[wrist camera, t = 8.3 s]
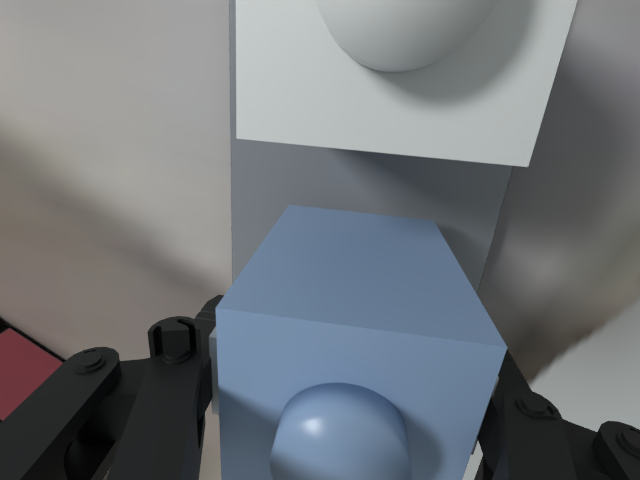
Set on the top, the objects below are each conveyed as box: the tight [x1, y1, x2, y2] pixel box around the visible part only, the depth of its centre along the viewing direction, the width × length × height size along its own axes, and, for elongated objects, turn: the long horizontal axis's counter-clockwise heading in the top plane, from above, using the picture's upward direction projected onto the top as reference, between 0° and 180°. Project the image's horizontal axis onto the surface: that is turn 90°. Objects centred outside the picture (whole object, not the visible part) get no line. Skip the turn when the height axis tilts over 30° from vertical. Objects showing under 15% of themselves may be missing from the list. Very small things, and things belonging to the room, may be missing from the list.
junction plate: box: [229, 0, 578, 294], centre depth 12 cm, size 16×12×10 cm
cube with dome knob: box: [216, 205, 507, 480], centre depth 12 cm, size 6×6×9 cm
